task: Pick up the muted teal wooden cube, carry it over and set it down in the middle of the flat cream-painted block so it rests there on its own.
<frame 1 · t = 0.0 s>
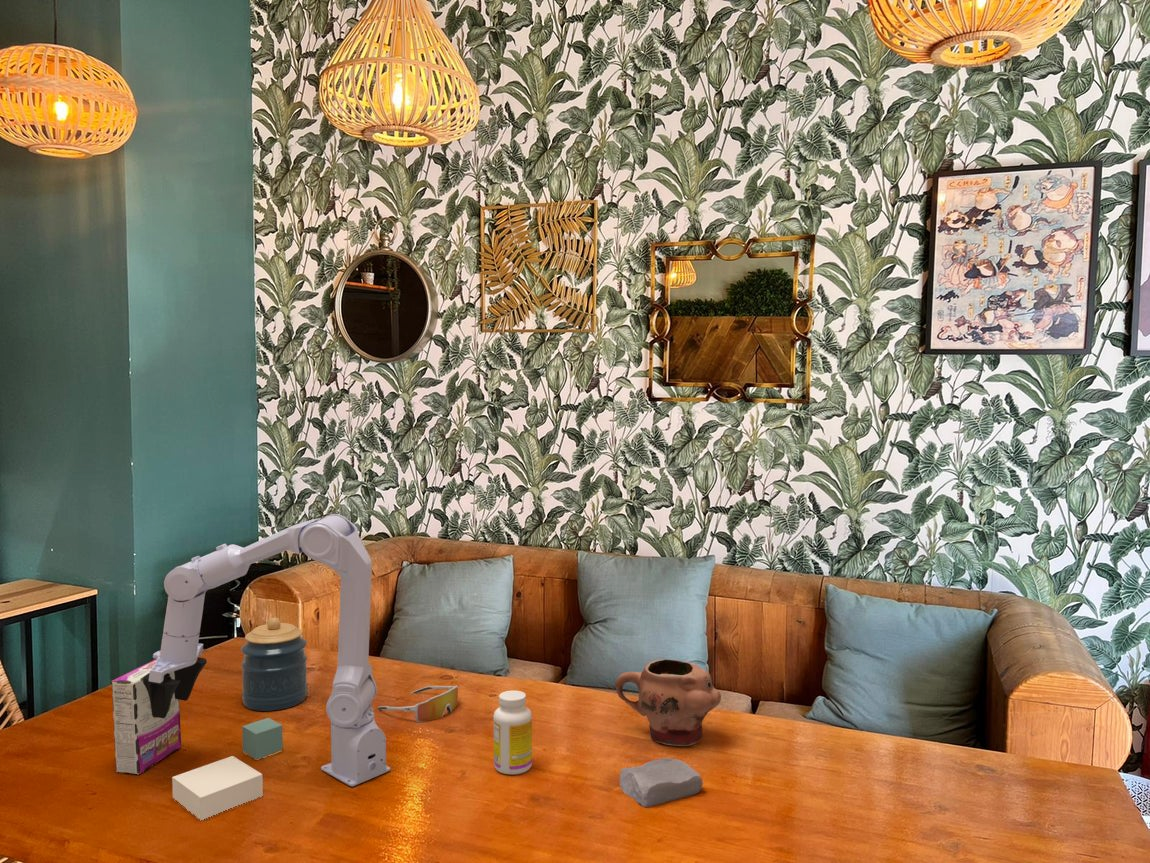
hand: (170, 707, 143), 11 cm above the table, tool pointing down, fingers open, 7 cm apart
sculpted ceramic mug: (666, 738, 156), on the table
teal cube: (262, 752, 149), on the table
sunglasses: (421, 710, 170), on the table
canister: (275, 701, 174), on the table
candy bar box: (148, 761, 146), on the table
supplement bottle: (512, 768, 144), on the table
cream block: (218, 799, 133), on the table
stone block: (657, 790, 137), on the table
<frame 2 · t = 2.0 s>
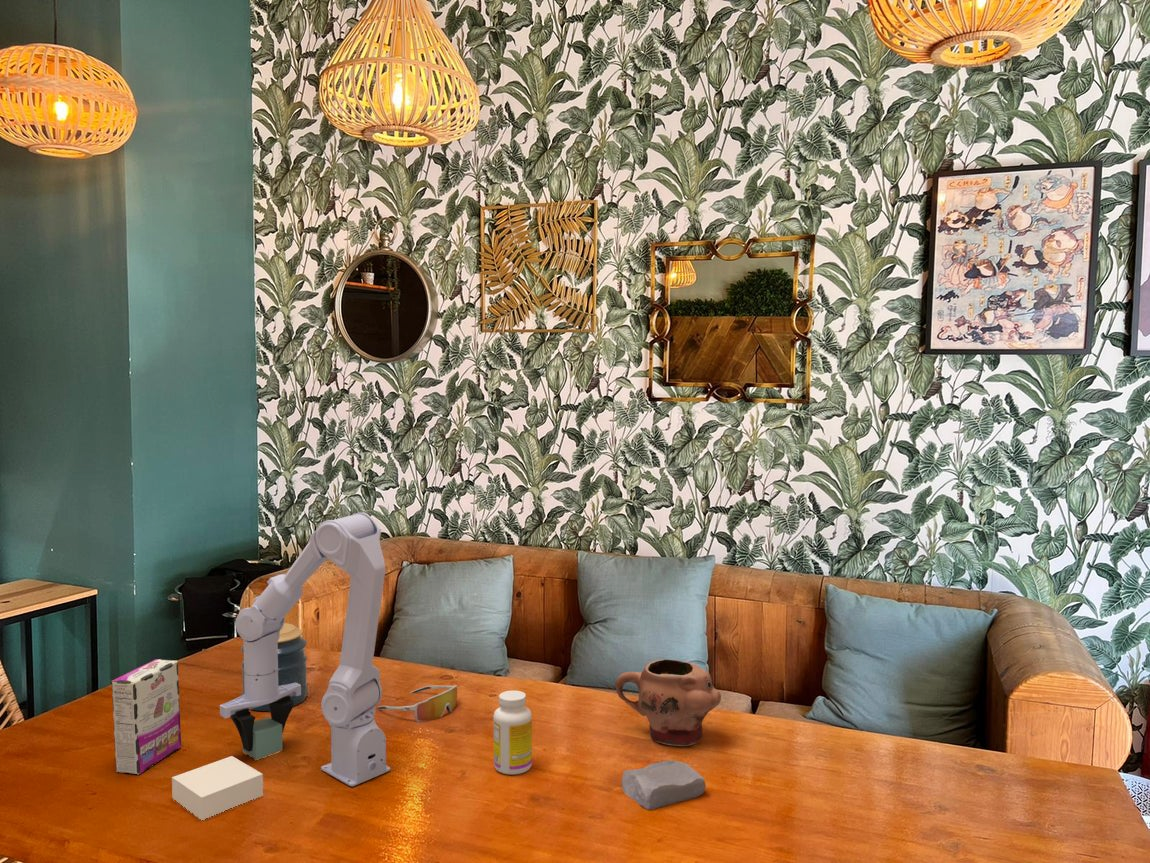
hand: (262, 744, 149), 1 cm above the table, tool pointing down, fingers closed on teal cube, 5 cm apart
teal cube: (262, 752, 149), on the table, touching gripper
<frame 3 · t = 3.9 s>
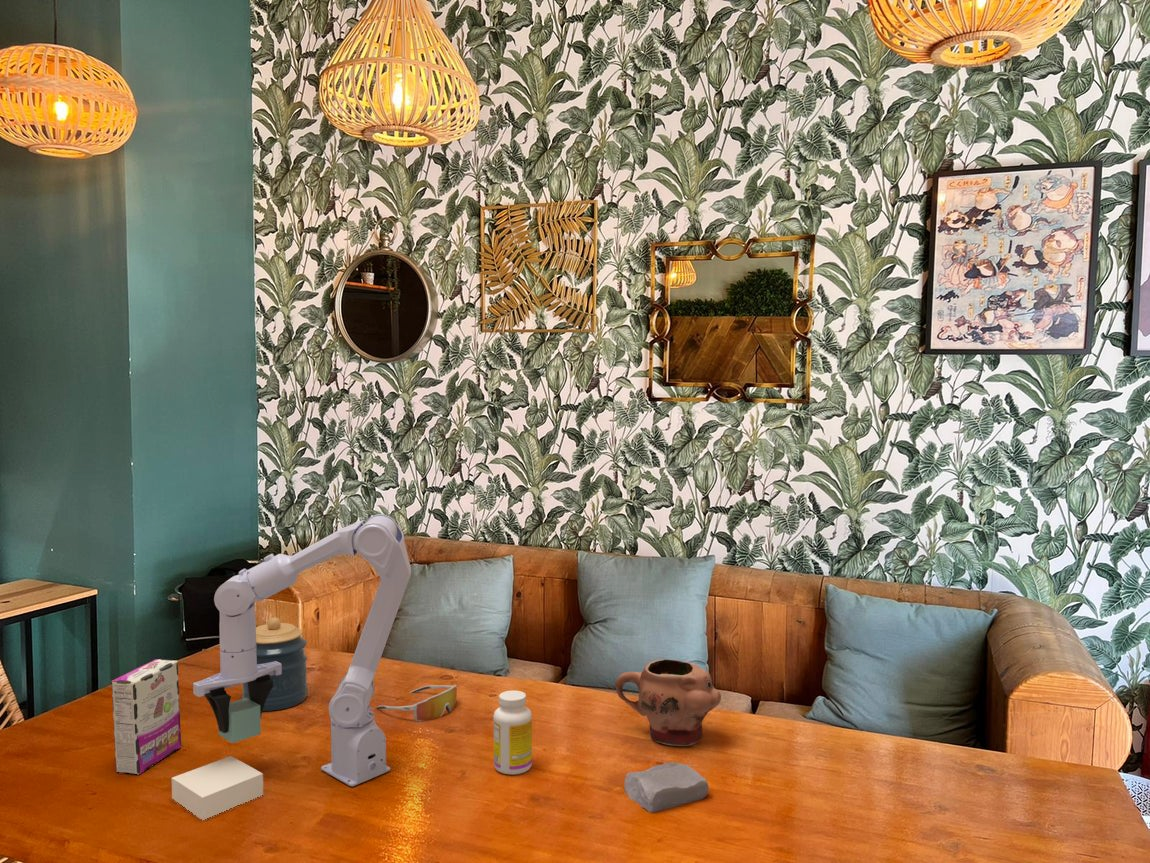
hand: (239, 725, 141), 8 cm above the table, tool pointing down, fingers closed on teal cube, 5 cm apart
teal cube: (239, 734, 141), point 7 cm above the table, touching gripper
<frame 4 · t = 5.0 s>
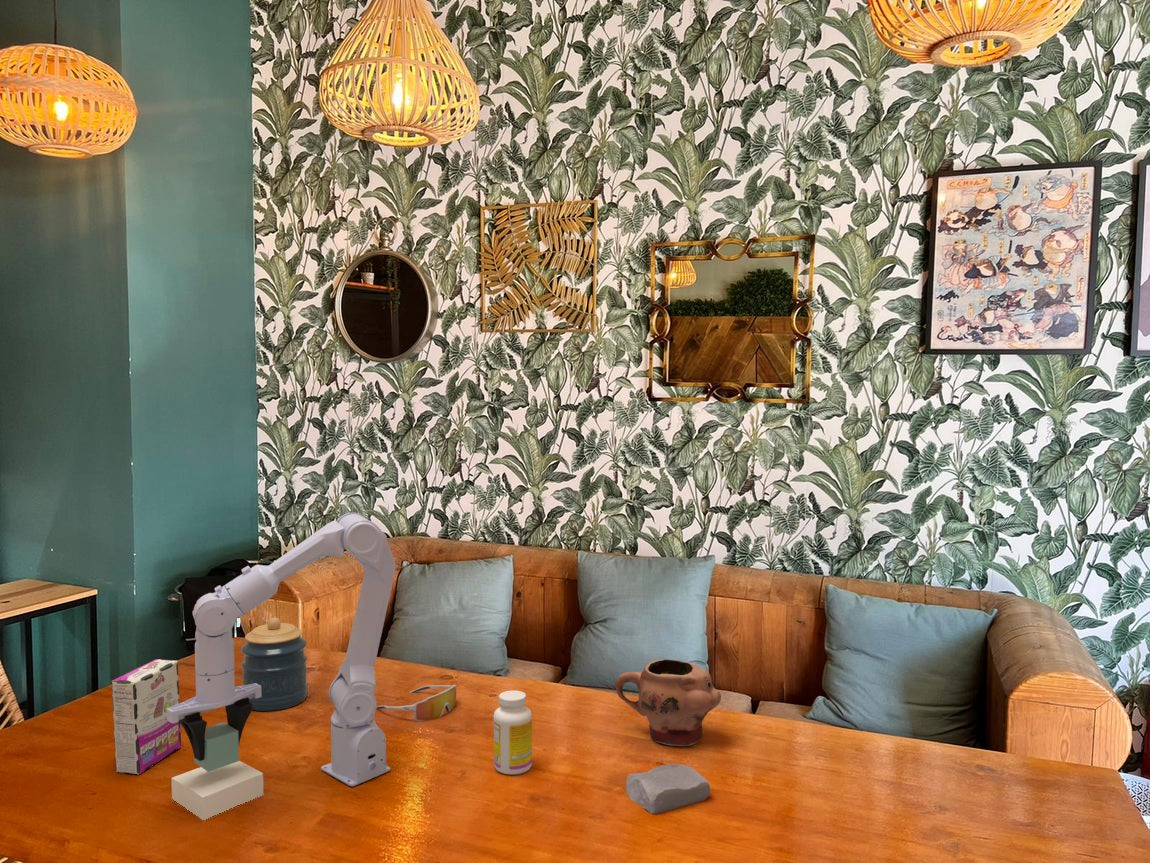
hand: (216, 752, 133), 7 cm above the table, tool pointing down, fingers closed on teal cube, 5 cm apart
teal cube: (216, 761, 133), point 6 cm above the table, touching gripper
when the fingers open (6 cm above the table, at t = 5.8 s): teal cube stays where it is, point 4 cm above the table.
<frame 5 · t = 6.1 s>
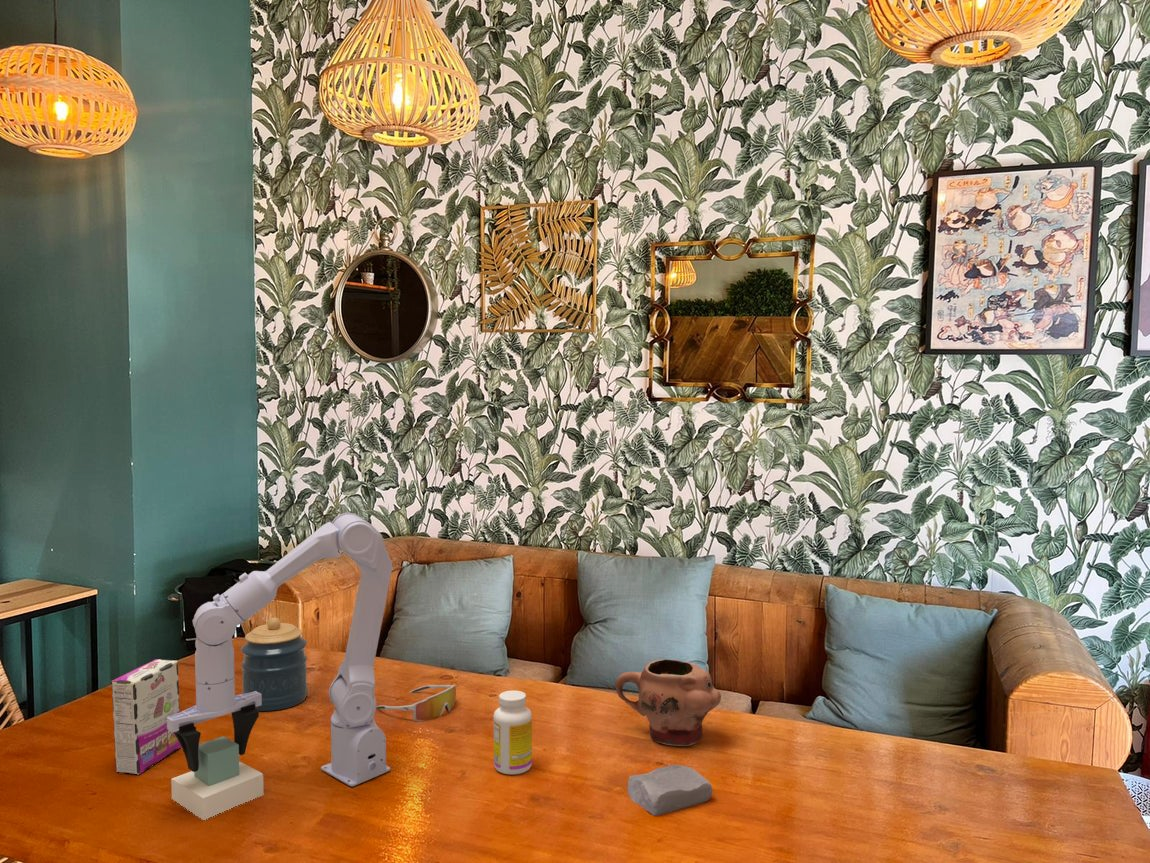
hand: (217, 761, 133), 6 cm above the table, tool pointing down, fingers open, 7 cm apart
teal cube: (216, 775, 133), point 4 cm above the table
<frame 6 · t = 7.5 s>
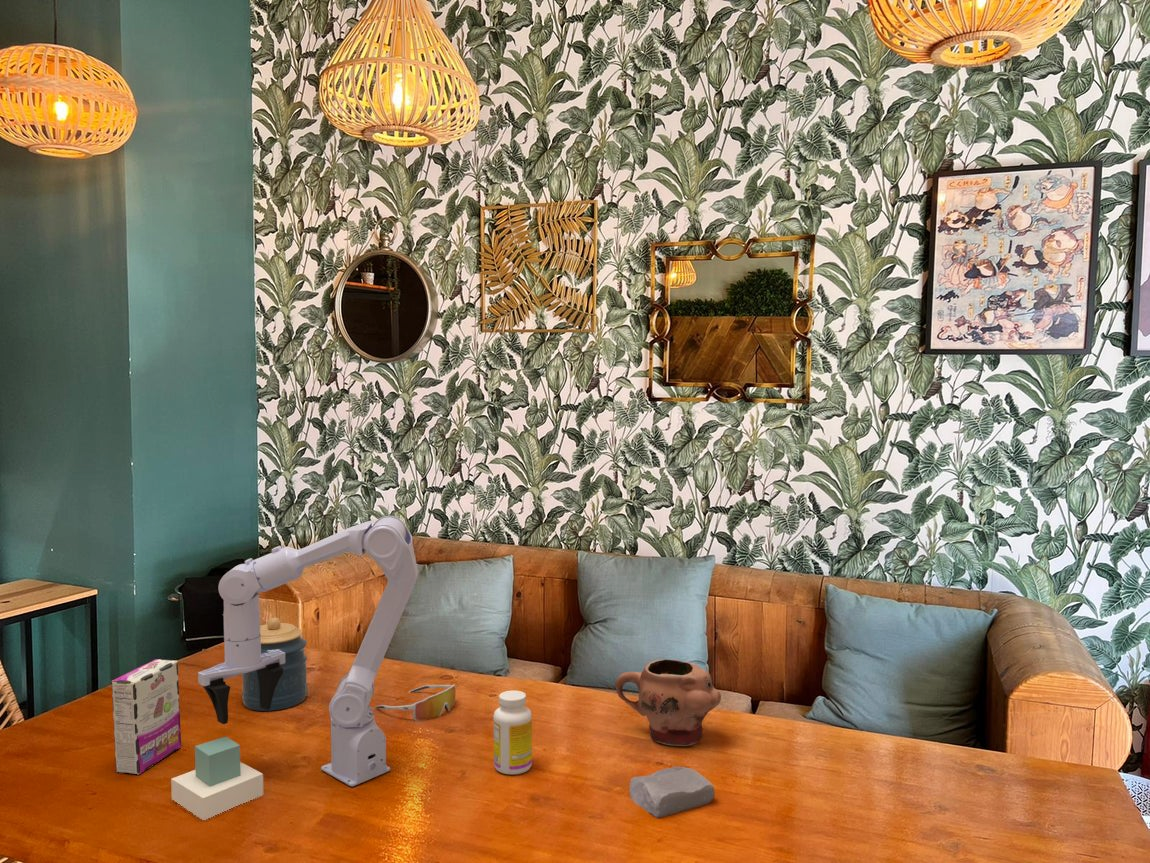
hand: (244, 715, 140), 10 cm above the table, tool pointing down, fingers open, 7 cm apart
teal cube: (218, 775, 133), point 4 cm above the table, touching cream block
cream block: (217, 800, 133), on the table, touching teal cube
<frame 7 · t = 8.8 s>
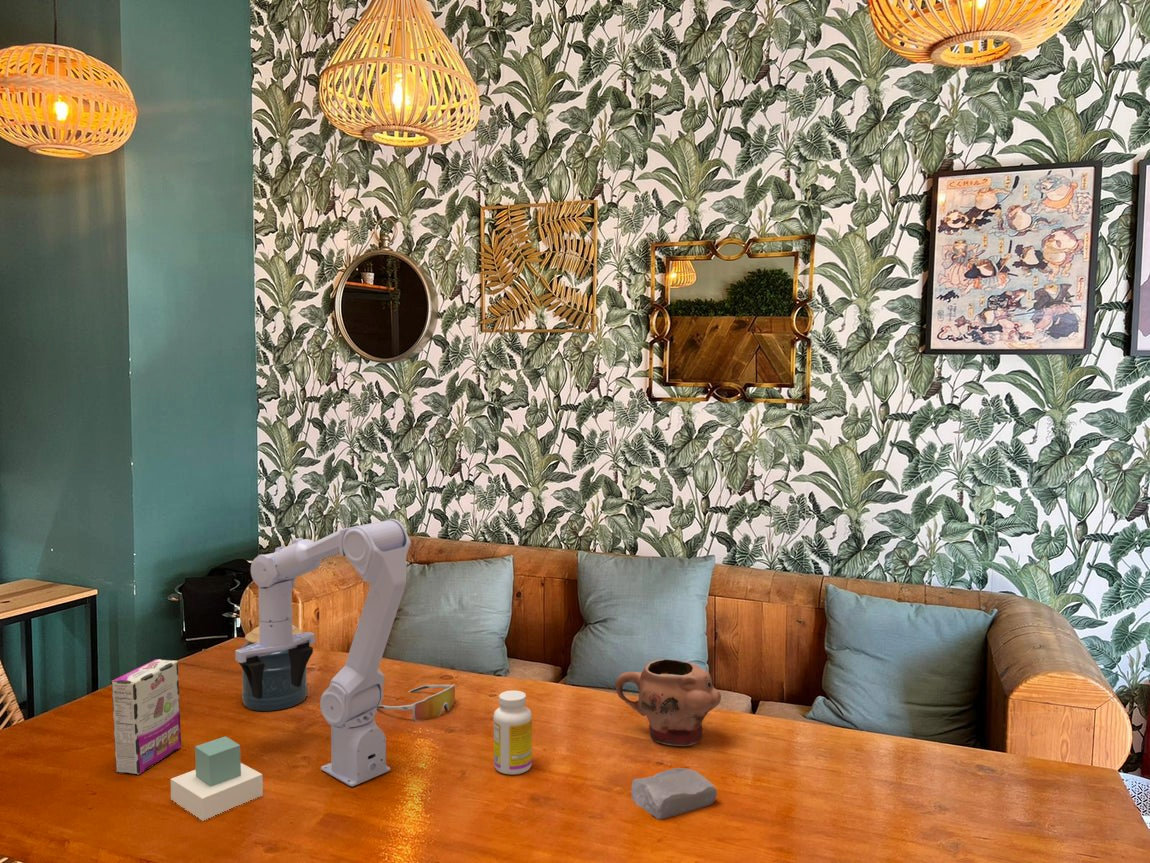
hand: (277, 691, 151), 10 cm above the table, tool pointing down, fingers open, 7 cm apart
teal cube: (218, 776, 133), point 4 cm above the table
cream block: (217, 800, 133), on the table
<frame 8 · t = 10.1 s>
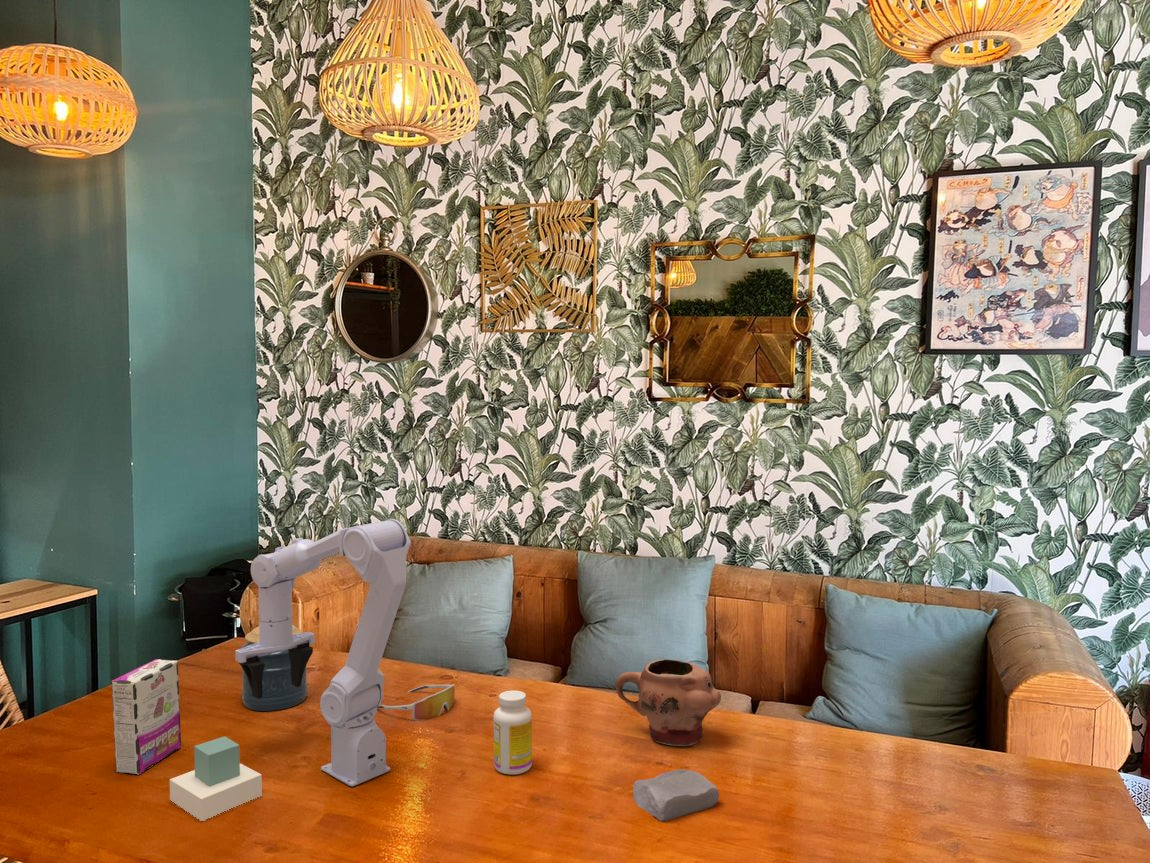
hand: (277, 691, 151), 10 cm above the table, tool pointing down, fingers open, 7 cm apart
teal cube: (217, 775, 133), point 4 cm above the table, touching cream block
cream block: (216, 801, 133), on the table, touching teal cube
at the end: teal cube 0.2 cm off-centre on the cream block, point 4.0 cm above the cream block's base; teal cube tilted 1°; the gripper is holding nothing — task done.
